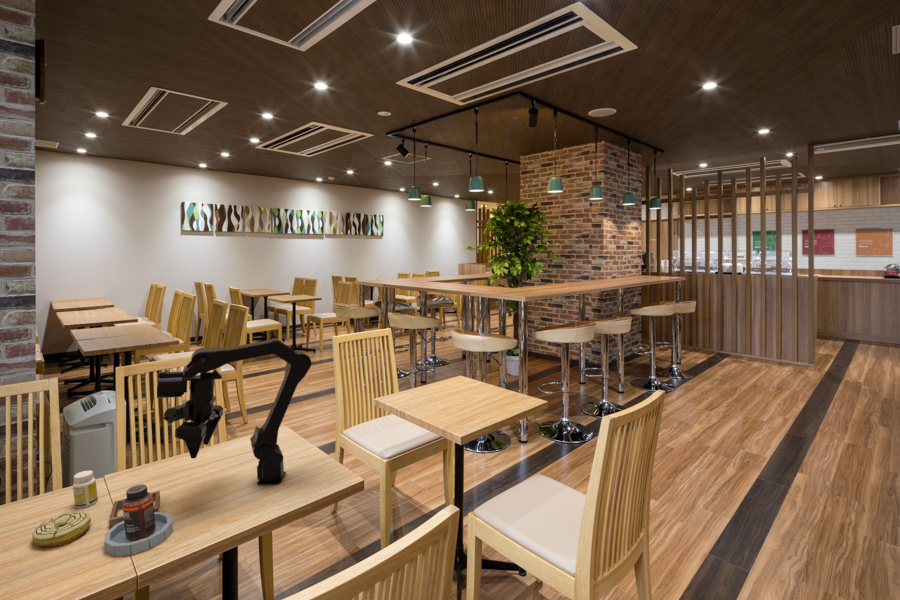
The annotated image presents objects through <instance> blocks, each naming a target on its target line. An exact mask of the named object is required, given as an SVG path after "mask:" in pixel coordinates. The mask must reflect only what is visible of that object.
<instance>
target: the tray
mask: <svg viewBox="0 0 900 600" xmlns="http://www.w3.org/2000/svg"><path fill="white" fill-rule="evenodd" d="M160 491H161V490H155V491H153V492H151V491H150V493H151V494H152V496H153V502H154V512H160V502H161V493H160ZM126 498H127V497H126ZM126 498H120V499H118V500H117V499H116V500H114V501H113V505H112V508H111V511H110V515H109V519H108V524H109V525H108V526H109V530H110V529H111V528H112V527H113V526H114V525H116V524H118V523H120V522H122V521H124V516H123V514H122V515H120V516H118V513H119V510H123V506H122V504H123V501H124V500H125V499H126Z"/></svg>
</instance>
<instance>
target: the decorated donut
mask: <svg viewBox="0 0 900 600" xmlns="http://www.w3.org/2000/svg"><path fill="white" fill-rule="evenodd" d="M91 522H92V519H91V514H90V513H88V512H83V511H82V512H81V511H79V512H77V511H75V512H68V513H63V514H61V515H58V516H55V517H51V518H50V519H47V520H45V521H43V522H41V523H40V524H39V525H38V526H37V527H36V528H35V529H34V531H33V532H32V533H31V536H32V540H33V542H34V543H35V544H36V545H37V546H38V545H39V546H38V547H42V546H51V547H56V546H55V545H58V546H60V544H61V545H65V544H67V543H69V541H70V542H71V541H74V540H76V539H78V538H79V537H80V536H82V535H83V534H84V533H85V532H87V530H88V528H89V527H90V524H91ZM64 543H65V544H64Z"/></svg>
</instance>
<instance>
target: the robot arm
mask: <svg viewBox="0 0 900 600" xmlns="http://www.w3.org/2000/svg"><path fill="white" fill-rule="evenodd" d="M268 355H276V356H277V357H278V358H280V359H281V360H283V361H284V362H286V364H285V367H284V368H285V370H284V377H283V380H282V382H281V384H280V387H279V388H278V391H277V394H276V396H275V398H274V401H273V403H272V405H271V408H270V410H269V413H268V415H267V417H266V419H265V422H264V423H263V425H262V426H261V427H259V426H255V428H254V432H253V434H252V436H251V437H250V438H249V441H250V445H251V449H252V453H253V456H254V458H256V459H257V460H258V462H257V463H258V464H257V466H256V473H257V475H256V476H257V477H256V478H257V479H256V480H258V481H257V482H256V483H257V486H260V485H263V486H264V485H276V484H277V485H278V484H279V485H280V484H281V483H282V481H283V479H284V477H285V476H286V474H287V472H286V471H284V470H285V467H284V453H282V451H281V450H282V449H281V447H280V445H279V444H277V442H278V435H279V429H280V426H281V424H282V422H283V419H284V417H285V415H286V413H287V411H288V407H290V403H291V400H292V398H293V396H294V394H295V393H296V392H295V391H296V390H297V386H298V385H299V384H300V383H301V381H302V380H303V379H304V377H306V375H307V373H308V372H309V370H310V369H311V368H312V360H311V357H310V356H309V355H308V354H306V353H305V352H304V351H303V350H299V349H298V350H297V349H296V350H295V349H293V348H292V347H291V346H288V345H287V344H285V343H284V342H282V341H281V340H280V339H278V338H275V337H274V338H273V337H272V338H270V339H267V340H263V341H262V340H261V341H257V342H251V343H247V344H241V345H236V346H231V347H216V346H214V347H200V348H197V349H195V351H193V352H192V354H191V356H190V357H191V358H190V361H189V363H188V364H187V365H186V366H184V368H183V370H182V371H181V370H180V371H159V372H158V381H157V387H156V398H157V399H166V398H170V399H171V398H183V396H184V395H185V393H188V382H189V381H190V382H189V383H190V384H189V399H188V400H187V401H186V402H185V403H182V404H179V405H176V406H172V407H171V408H167V409H165V412H164V413H163V421H166V422H167V423H168V424H169V425H170V424H173V423H174V422H177V421H179V420H183V419H184V422H183V423H181V424H180V425H179V426H178V427H176V429H175V430H174V438H176V439H179V440H182V441H184V442H185V445H186V448H187V449H188V454H189V456H190V458H191V459H196V458H197V456H198V454H199V452H200V450H201V448H202V447H201V446H202V444H203V445H205V446H207V445H209V443H210V441H211V439H212V436H214V433H215V431H216V429H217V427H218V425H219V423H220V422H221V420H222V417H223V415H224V407H223V406H221V405H220V404H219V405H218V404H215V405H214V403H215V402H216V401H217V396H215V380H222V379H223V376H222V375H223V374H222V373H220V372H219V371H218V369H219V368H221V367H223V366H225V365H227V364H230V363H235V362H239V361H245V360H250V359H255V358H258V357H264V356H268Z"/></svg>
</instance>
